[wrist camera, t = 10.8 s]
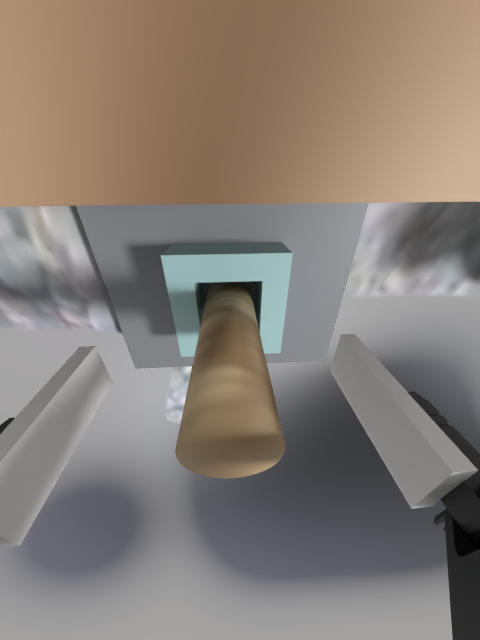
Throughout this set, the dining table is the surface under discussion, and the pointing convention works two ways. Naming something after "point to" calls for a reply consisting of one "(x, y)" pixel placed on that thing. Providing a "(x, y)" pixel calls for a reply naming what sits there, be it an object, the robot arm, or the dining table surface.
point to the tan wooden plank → (239, 101)
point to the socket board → (223, 222)
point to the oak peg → (229, 392)
